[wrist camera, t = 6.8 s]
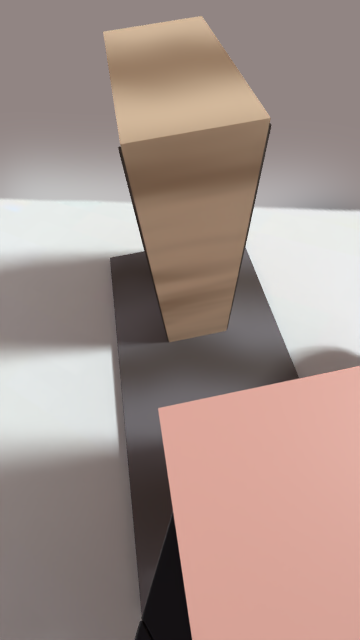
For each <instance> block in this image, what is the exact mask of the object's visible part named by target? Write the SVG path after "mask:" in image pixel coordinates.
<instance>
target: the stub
mask: <svg viewBox="0 0 360 640" xmlns="http://www.w3.org/2000/svg"><path fill="white" fill-rule="evenodd" d="M158 412H159V418H160V425H161V432H162V439H163V446H164V452H165V459H166V466H167V473H168V479H169V486H170V493H171V500H172V506H173V513H174V520H175V527H176V534H177V540H178V547H179V554H180V561H181V567H182V574H183V581H184V588H185V595H186V601H187V608H188V615H189V622H190V628H191V635H192V640H360V366H356V367H352V368H347V369H342V370H337V371H333V372H328V373H323V374H318V375H314V376H309V377H304V378H299V379H294V380H290V381H285V382H280V383H275V384H271V385H266V386H261V387H256V388H252V389H247V390H242V391H237V392H233V393H228V394H223V395H218V396H213V397H209V398H204V399H199V400H194V401H190V402H185V403H180V404H175V405H171V406H166V407H161V408H158Z"/></svg>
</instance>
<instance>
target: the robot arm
mask: <svg viewBox="0 0 360 640" xmlns="http://www.w3.org/2000/svg"><path fill="white" fill-rule="evenodd" d="M141 619H142V621H140V623H139V627H138V630H137V633H136V637H135V640H192V635H191V628H190V622H189V615H188V608H187V601H186V595H185V588H184V581H183V574H182V567H181V561H180V554H179V547H178V540H177V534H176V527H175V520H174V513H173V512H172V515H171V518H170V522H169V525H168V529H167V532H166V535H165V539H164V542H163V546H162V549H161V552H160V556H159V559H158V563H157V566H156V569H155V573H154V576H153V580H152V583H151V586H150V590H149V593H148V596H147V600H146V603H145V607H144V610H143V613H142V617H141Z"/></svg>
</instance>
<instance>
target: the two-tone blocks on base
mask: <svg viewBox="0 0 360 640" xmlns="http://www.w3.org/2000/svg"><path fill="white" fill-rule="evenodd" d="M103 33H104V40H105V47H106V53H107V60H108V66H109V73H110V80H111V85H112V93H113V99H114V106H115V113H116V118H117V126H118V132H119V139H120V145H121V147H119V153H120V157H121V161H122V165H123V169H124V173H125V177H126V181H127V185H128V188H129V192H130V196H131V200H132V204H133V208H134V212H135V216H136V220H137V224H138V227H139V231H140V235H141V239H142V243H143V247H144V252H139V253H134V254H128V255H123V256H118V257H112V258H110V262H111V273H112V285H113V296H114V307H115V319H116V330H117V341H118V352H119V364H120V375H121V386H122V398H123V409H124V420H125V431H126V443H127V454H128V465H129V477H130V488H131V499H132V510H133V522H134V533H135V544H136V556H137V567H138V578H139V589H140V601H141V612H142V613H143V610H144V607H145V603H146V600H147V596H148V593H149V590H150V586H151V583H152V580H153V576H154V573H155V569H156V566H157V563H158V559H159V556H160V552H161V549H162V546H163V542H164V539H165V535H166V532H167V529H168V525H169V522H170V518H171V515H172V512H173V506H172V500H171V493H170V486H169V479H168V473H167V466H166V459H165V452H164V446H163V439H162V432H161V425H160V418H159V412H158V408H161V407H166V406H171V405H175V404H180V403H185V402H190V401H194V400H199V399H204V398H209V397H213V396H218V395H223V394H228V393H233V392H237V391H242V390H247V389H252V388H256V387H261V386H266V385H271V384H275V383H280V382H285V381H290V380H294V379H299V377H298V375H297V372H296V370H295V367H294V365H293V362H292V360H291V358H290V355H289V353H288V350H287V348H286V345H285V343H284V340H283V338H282V336H281V333H280V331H279V328H278V326H277V323H276V321H275V319H274V316H273V314H272V311H271V309H270V306H269V304H268V301H267V299H266V297H265V294H264V292H263V289H262V287H261V284H260V282H259V279H258V277H257V275H256V272H255V270H254V267H253V265H252V262H251V260H250V257H249V255H248V253H247V250H246V248H245V245H246V241H247V236H248V231H249V227H250V222H251V217H252V213H253V208H254V204H255V199H256V194H257V189H258V185H259V180H260V176H261V171H262V166H263V162H264V157H265V152H266V148H267V143H268V138H269V134H270V129H271V124H270V117H269V115H268V114H267V112H266V110H265V109H264V108H263V106H262V105H261V103H260V102H259V100H258V99H257V97H256V96H255V94H254V93H253V91H252V90H251V88H250V87H249V85H248V84H247V83H246V81H245V79H244V78H243V76H242V75H241V74H240V72H239V70H238V69H237V67H236V66H235V65H234V63H233V62H232V60H231V59H230V57H229V56H228V54H227V53H226V51H225V50H224V48H223V47H222V45H221V44H220V42H219V41H218V39H217V38H216V36H215V35H214V33H213V32H212V31H211V29H210V27H209V26H208V25H207V23H206V22H205V20H204V19H203V17H202V16H199V17H193V18H186V19H180V20H174V21H168V22H161V23H155V24H149V25H142V26H137V27H130V28H124V29H117V30H111V31H105V32H103Z"/></svg>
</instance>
